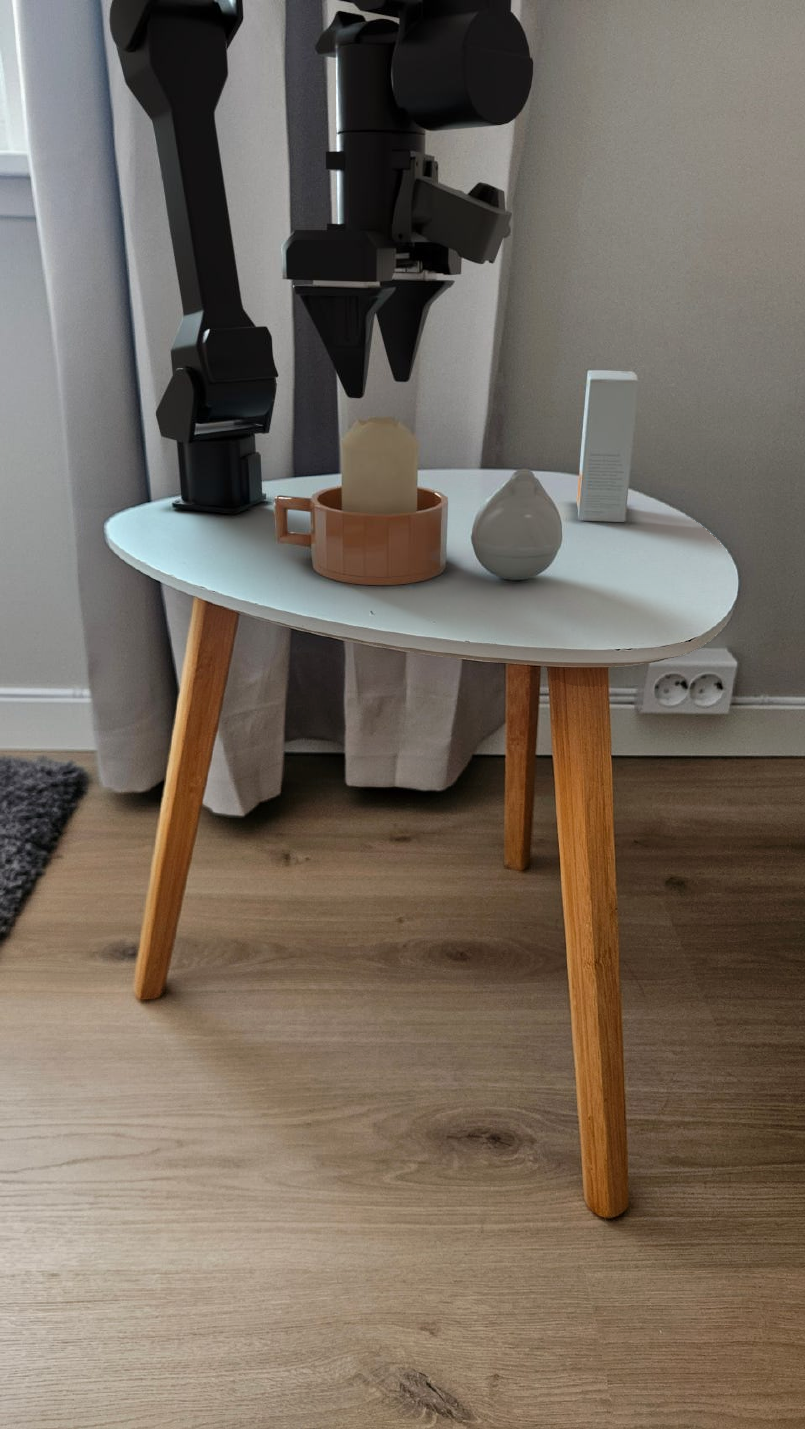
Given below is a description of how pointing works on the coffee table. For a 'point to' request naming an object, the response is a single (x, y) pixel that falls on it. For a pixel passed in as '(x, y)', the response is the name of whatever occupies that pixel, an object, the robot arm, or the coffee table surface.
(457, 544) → the coffee table surface
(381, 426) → the candle
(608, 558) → the coffee table surface
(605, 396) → the cosmetic box
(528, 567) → the grey teardrop shape
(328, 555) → the coffee cup
